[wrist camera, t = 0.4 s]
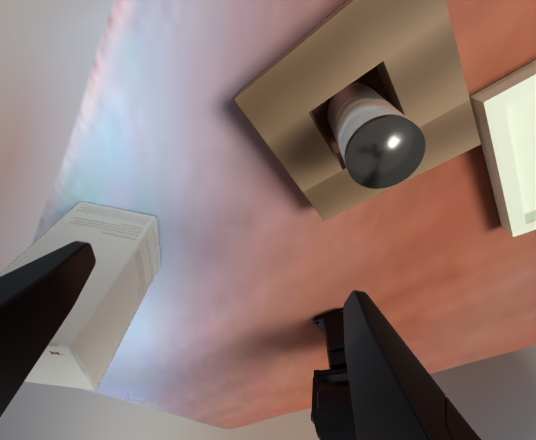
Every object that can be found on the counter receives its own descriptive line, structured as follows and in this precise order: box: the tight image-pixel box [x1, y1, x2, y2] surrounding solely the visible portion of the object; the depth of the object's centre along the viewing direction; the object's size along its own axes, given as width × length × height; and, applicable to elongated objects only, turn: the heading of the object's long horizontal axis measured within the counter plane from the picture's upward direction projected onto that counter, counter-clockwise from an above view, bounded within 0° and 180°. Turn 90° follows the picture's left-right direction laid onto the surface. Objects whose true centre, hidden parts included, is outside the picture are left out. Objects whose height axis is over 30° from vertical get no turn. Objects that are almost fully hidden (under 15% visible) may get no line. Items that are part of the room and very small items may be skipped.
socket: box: [234, 0, 481, 220], centre depth 17 cm, size 11×11×2 cm
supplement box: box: [0, 202, 161, 390], centre depth 21 cm, size 7×7×13 cm
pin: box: [327, 83, 426, 189], centre depth 15 cm, size 3×3×8 cm
